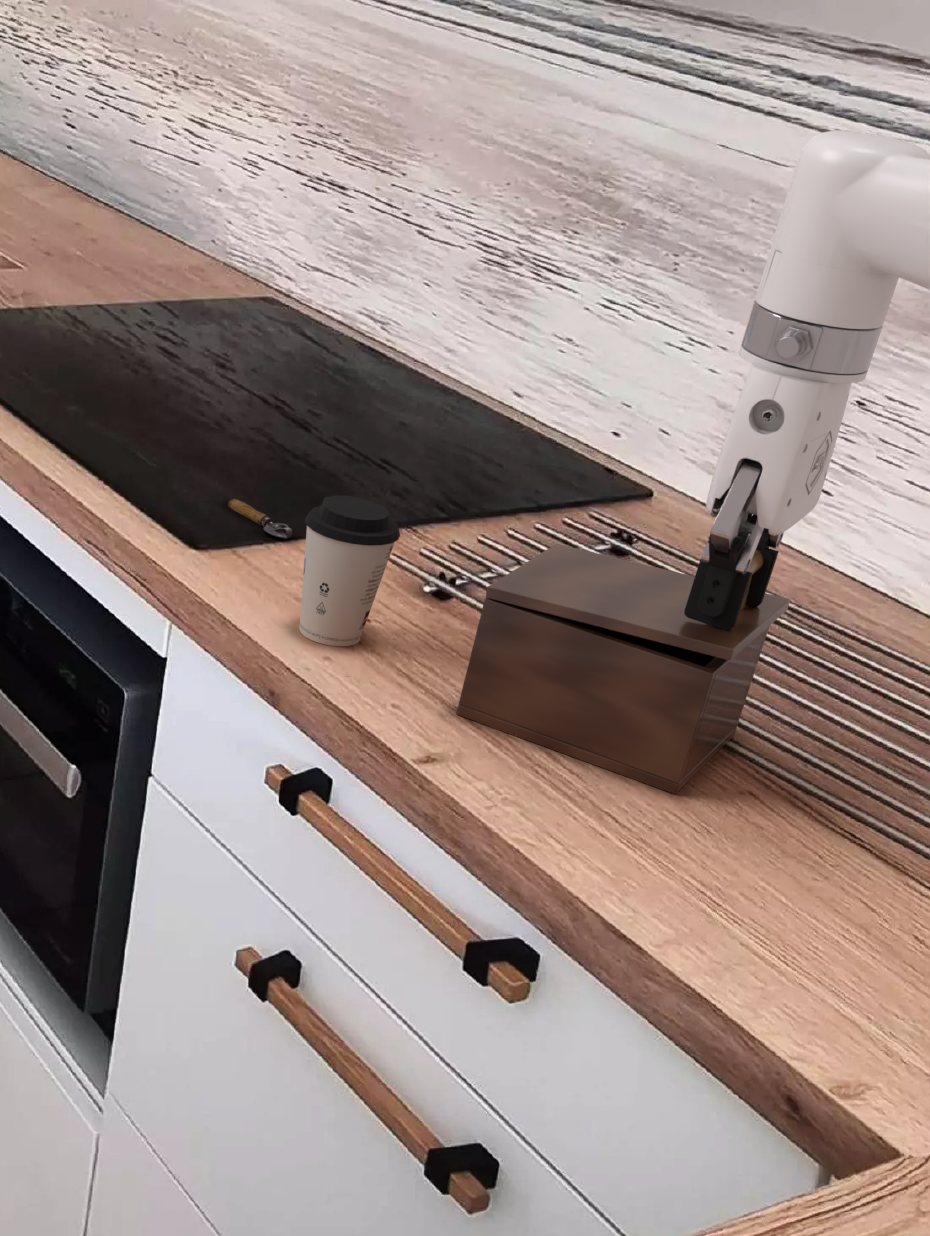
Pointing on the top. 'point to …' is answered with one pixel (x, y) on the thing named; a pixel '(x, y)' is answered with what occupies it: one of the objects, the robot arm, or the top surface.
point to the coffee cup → (343, 567)
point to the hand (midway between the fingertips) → (723, 608)
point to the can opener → (260, 519)
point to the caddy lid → (630, 599)
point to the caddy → (604, 693)
